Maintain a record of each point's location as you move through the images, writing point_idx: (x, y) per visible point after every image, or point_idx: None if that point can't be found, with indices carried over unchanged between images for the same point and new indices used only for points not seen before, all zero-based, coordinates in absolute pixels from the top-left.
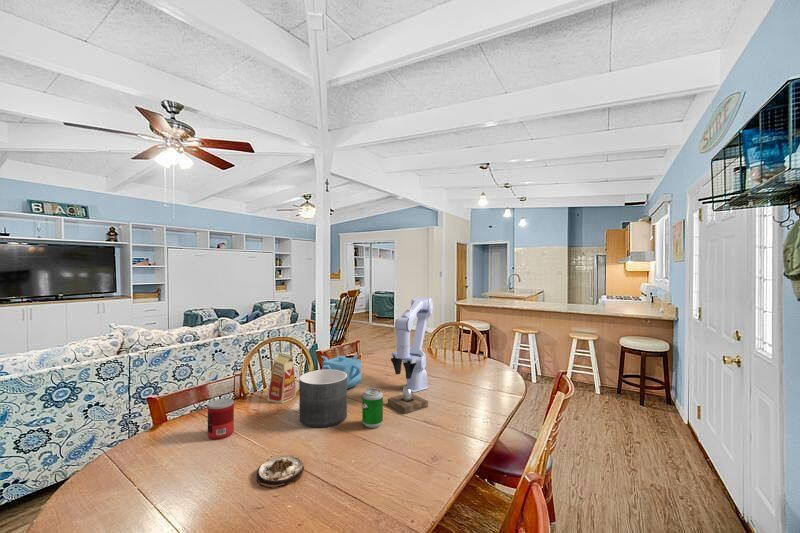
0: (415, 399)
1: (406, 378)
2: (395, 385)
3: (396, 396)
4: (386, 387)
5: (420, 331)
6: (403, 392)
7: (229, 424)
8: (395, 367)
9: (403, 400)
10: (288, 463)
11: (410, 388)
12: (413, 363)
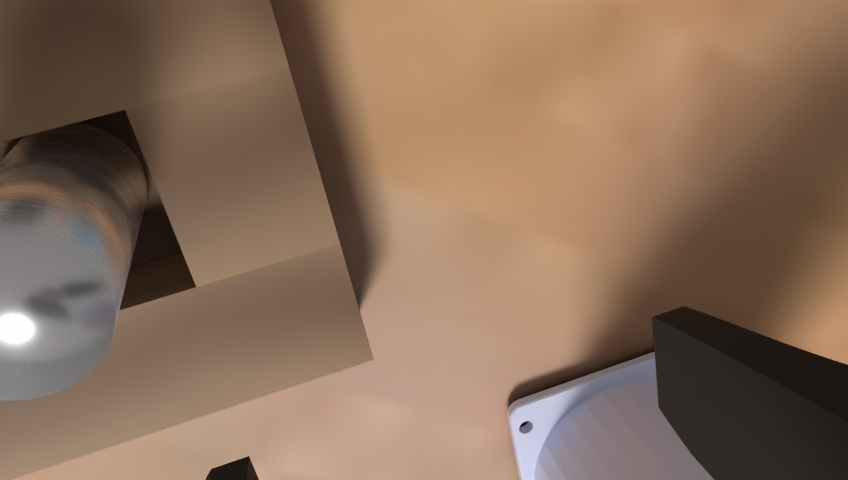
0: None
1: (235, 465)
2: (821, 276)
3: (279, 99)
4: (835, 146)
5: None
6: (5, 201)
7: None
8: (800, 403)
9: (39, 149)
10: None
11: (26, 390)
12: None
